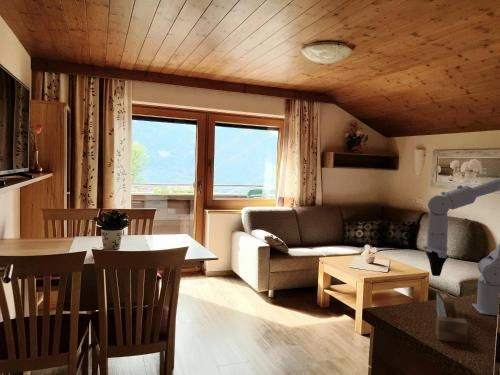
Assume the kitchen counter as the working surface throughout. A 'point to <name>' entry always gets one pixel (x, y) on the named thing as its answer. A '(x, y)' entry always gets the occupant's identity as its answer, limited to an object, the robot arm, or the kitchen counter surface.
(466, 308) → the kitchen counter surface
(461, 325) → the block
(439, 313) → the tin
